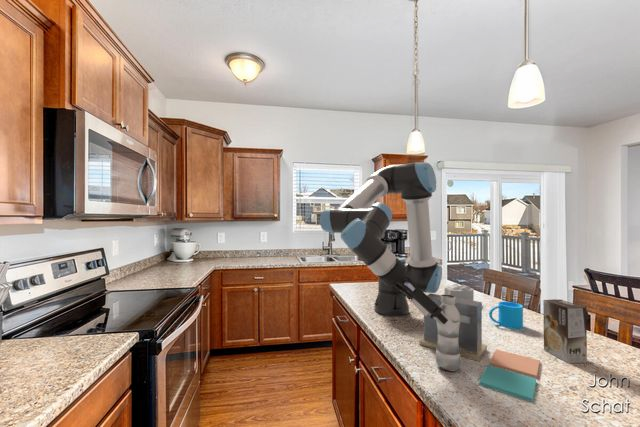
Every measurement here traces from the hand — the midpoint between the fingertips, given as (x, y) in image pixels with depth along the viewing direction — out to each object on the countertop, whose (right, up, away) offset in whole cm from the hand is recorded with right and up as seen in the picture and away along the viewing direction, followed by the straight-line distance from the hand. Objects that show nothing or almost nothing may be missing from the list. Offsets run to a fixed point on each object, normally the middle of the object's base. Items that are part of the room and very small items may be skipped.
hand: (439, 320), depth 83 cm
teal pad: (+15, -13, -7) cm, 21 cm away
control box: (+10, -13, +14) cm, 21 cm away
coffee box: (+41, -14, +8) cm, 45 cm away
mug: (+40, -14, +34) cm, 54 cm away
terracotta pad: (+23, -13, +3) cm, 27 cm away
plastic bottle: (+2, -13, 0) cm, 14 cm away
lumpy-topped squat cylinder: (+36, -15, +65) cm, 75 cm away
